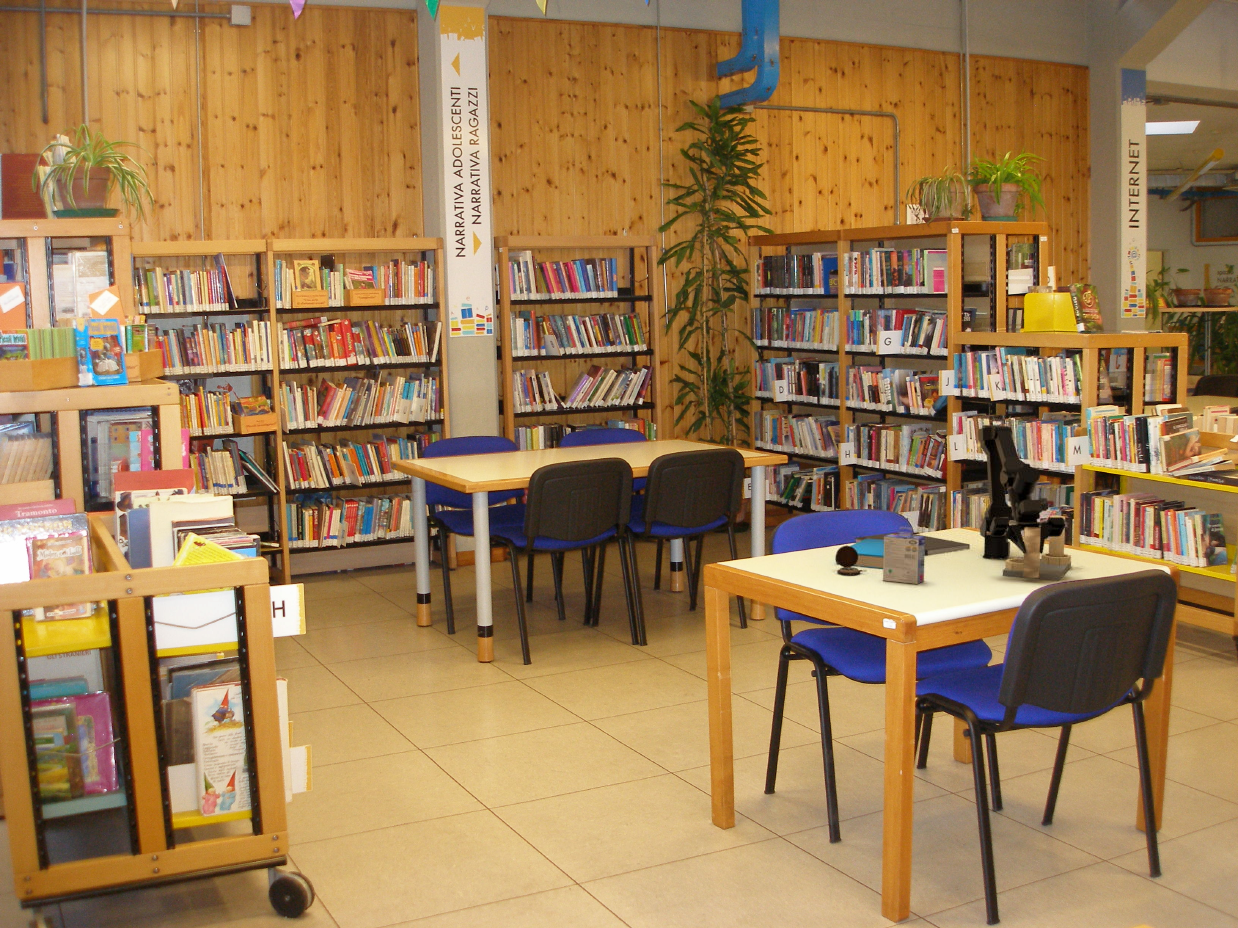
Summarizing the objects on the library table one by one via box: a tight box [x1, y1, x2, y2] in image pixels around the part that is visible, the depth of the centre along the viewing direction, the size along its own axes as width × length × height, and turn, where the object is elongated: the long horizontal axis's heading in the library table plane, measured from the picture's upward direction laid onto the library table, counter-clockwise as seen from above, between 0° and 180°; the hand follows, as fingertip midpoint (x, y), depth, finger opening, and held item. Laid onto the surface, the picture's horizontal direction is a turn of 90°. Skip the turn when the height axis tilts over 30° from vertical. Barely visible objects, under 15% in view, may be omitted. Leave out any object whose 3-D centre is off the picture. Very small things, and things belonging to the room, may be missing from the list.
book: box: [834, 539, 884, 570], centre depth 343 cm, size 17×4×25 cm
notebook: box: [855, 531, 971, 557], centre depth 365 cm, size 22×2×28 cm
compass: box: [835, 544, 868, 577], centre depth 325 cm, size 8×8×7 cm
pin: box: [1023, 527, 1041, 579], centre depth 312 cm, size 4×4×13 cm
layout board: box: [1002, 515, 1072, 582], centre depth 325 cm, size 15×22×14 cm
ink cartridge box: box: [882, 525, 925, 585], centre depth 313 cm, size 10×6×14 cm, turn 58°
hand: (1033, 552), depth 310 cm, fingers closed on pin, 4 cm apart
